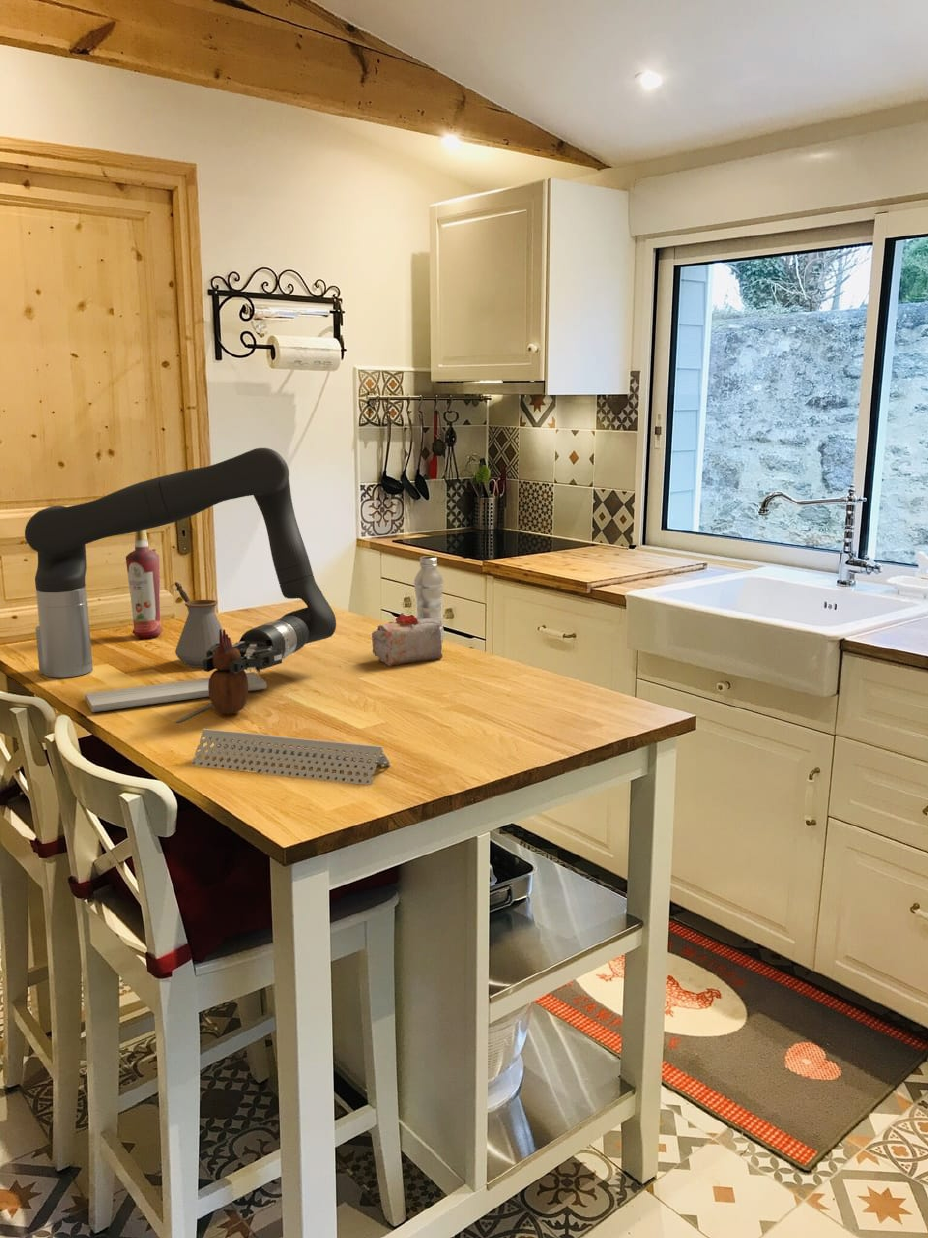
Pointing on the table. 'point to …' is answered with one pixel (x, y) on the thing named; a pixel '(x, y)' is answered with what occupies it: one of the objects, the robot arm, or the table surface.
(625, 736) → the table surface
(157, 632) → the liquor
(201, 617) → the coffee pot
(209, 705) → the thin grey rod
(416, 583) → the plastic bottle
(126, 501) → the robot arm
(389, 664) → the food item
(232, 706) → the wooden figurine
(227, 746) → the corner bead
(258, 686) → the baseboard molding
